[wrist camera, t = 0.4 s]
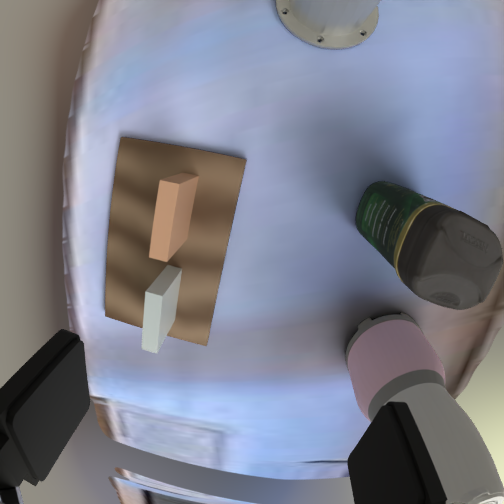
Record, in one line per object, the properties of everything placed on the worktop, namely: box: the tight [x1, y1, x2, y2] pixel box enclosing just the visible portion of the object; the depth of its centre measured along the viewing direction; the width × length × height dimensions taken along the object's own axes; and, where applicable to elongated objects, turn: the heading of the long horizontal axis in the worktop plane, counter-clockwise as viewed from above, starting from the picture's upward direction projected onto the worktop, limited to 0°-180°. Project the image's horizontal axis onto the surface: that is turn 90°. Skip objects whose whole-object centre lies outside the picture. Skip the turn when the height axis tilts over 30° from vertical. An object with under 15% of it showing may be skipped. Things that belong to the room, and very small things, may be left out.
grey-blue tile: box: [142, 265, 182, 353], centre depth 38 cm, size 8×2×8 cm, turn 167°
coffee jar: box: [356, 181, 503, 310], centre depth 29 cm, size 10×8×19 cm
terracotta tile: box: [149, 173, 199, 262], centre depth 34 cm, size 8×2×8 cm, turn 167°
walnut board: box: [105, 137, 247, 346], centre depth 40 cm, size 26×16×1 cm, turn 167°
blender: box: [345, 313, 504, 504], centre depth 29 cm, size 16×12×32 cm
